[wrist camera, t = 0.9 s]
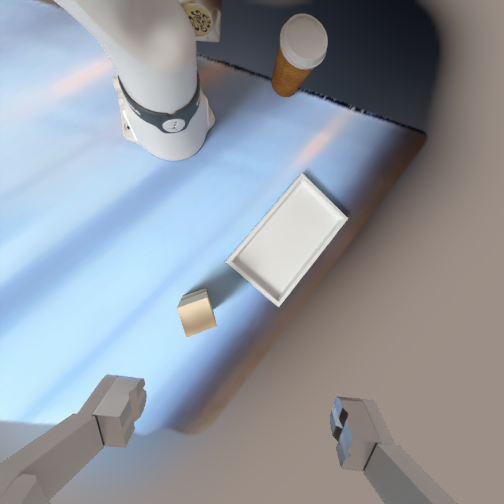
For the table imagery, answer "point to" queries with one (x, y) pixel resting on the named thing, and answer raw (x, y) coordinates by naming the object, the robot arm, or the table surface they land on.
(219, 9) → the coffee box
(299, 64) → the disposable coffee cup
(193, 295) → the ash block
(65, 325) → the table surface
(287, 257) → the tray
